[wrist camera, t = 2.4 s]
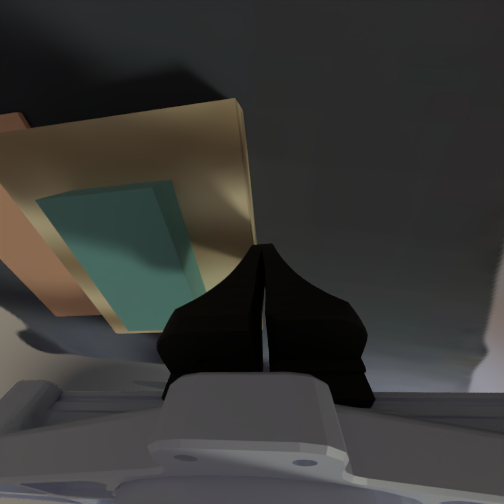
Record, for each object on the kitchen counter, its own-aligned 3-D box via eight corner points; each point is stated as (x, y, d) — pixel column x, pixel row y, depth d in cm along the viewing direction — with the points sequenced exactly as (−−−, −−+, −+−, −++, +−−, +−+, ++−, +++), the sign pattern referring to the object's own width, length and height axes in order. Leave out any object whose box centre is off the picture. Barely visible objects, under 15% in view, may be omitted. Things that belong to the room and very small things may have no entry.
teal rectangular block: (211, 307, 15) (204, 328, 13) (142, 310, 16) (128, 331, 14) (171, 179, 10) (152, 187, 8) (71, 190, 11) (34, 199, 9)
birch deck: (262, 296, 20) (262, 329, 16) (140, 302, 21) (116, 333, 18) (242, 110, 11) (234, 97, 8) (44, 138, 13) (-35, 137, 9)
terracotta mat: (141, 311, 22) (140, 313, 22) (58, 314, 23) (56, 316, 23) (21, 112, 12) (16, 112, 12) (-114, 134, 13) (-122, 133, 13)
